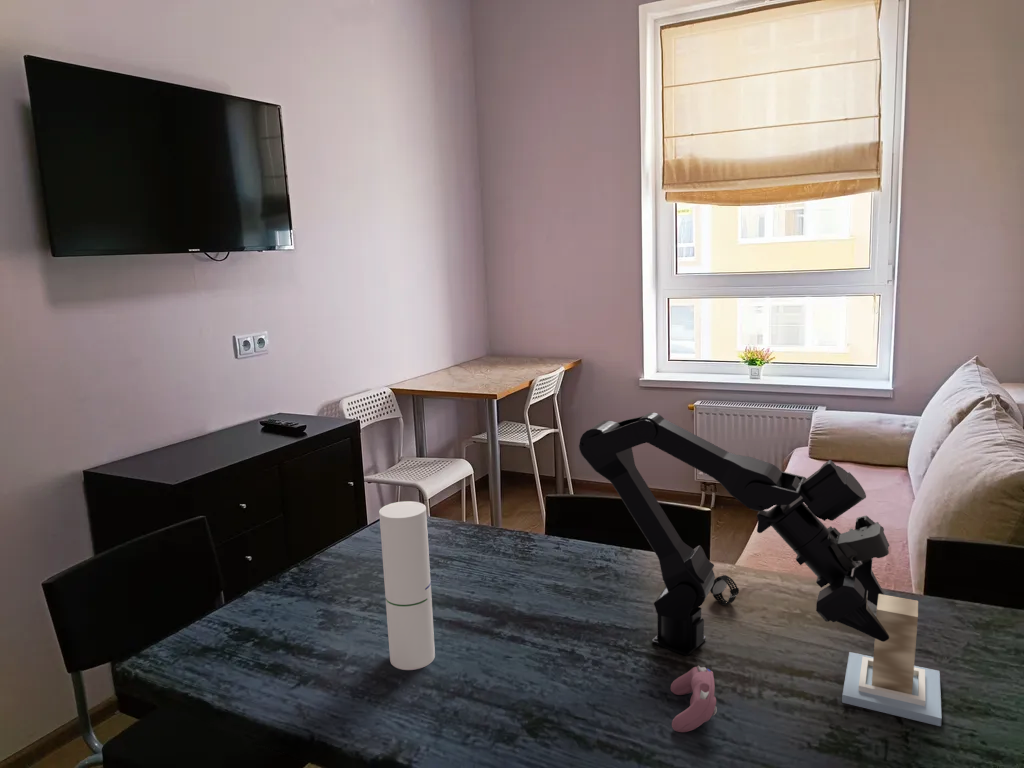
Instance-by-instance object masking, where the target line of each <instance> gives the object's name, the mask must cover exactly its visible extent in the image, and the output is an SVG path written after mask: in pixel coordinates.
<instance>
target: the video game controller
mask: <svg viewBox="0 0 1024 768" xmlns="http://www.w3.org/2000/svg"><path fill="white" fill-rule="evenodd" d="M670 691H671V693H673V694H674V695H677V696H682V695H688V694H690V693H692V695H691V697H690V701H689V707H687V708H686V709H685V710H682V712H680V713H678V714H677V715H675V717H674V718H673V719H672V721H671V728H672V729H673V730H674V731H675V732H677V733H687V732H690V731H693V730H696V729H697V728H698V727H700V726H702V725H703V724H704V723H706V722H709V721H710V719H711V718H712V716H715V715H716V714H717V711H718V707H717V706H716V705H717V698H716V696H715V678H714V672H713V671H712V670H711V669H709V668H706V667H705V666H700V665H697V666H694V667H692V668H691V669H690V670H688V671H687V672H685V673H684V674H682V675H680V676H678V677H677V678H676V679H674V680H673V681H672V682H671V684H670Z"/></svg>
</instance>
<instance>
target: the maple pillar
mask: <svg viewBox="0 0 1024 768" xmlns="http://www.w3.org/2000/svg"><path fill="white" fill-rule="evenodd" d="M875 616H876V618H877V619H878V620H879V622H880V623H881V625H882V626H883V627H884V629H885V631H886V632H887V634H888V635H889V639H888V640H886V641H884V642H882V641H880V640H878V639H876V638H874V646H873V657H874V658H873V673H872V686H876V687H880V688H885V689H889V690H893V691H898V692H902V693H907V694H911V695H912V686H913V674H914V666H915V659H916V648H917V647H916V646H917V645H916V644H917V632H918V620H919V600H914V599H910V598H904V597H898V596H892V595H886V594H885V595H883V594H879V595H878V603H877V606H876V614H875Z"/></svg>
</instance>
